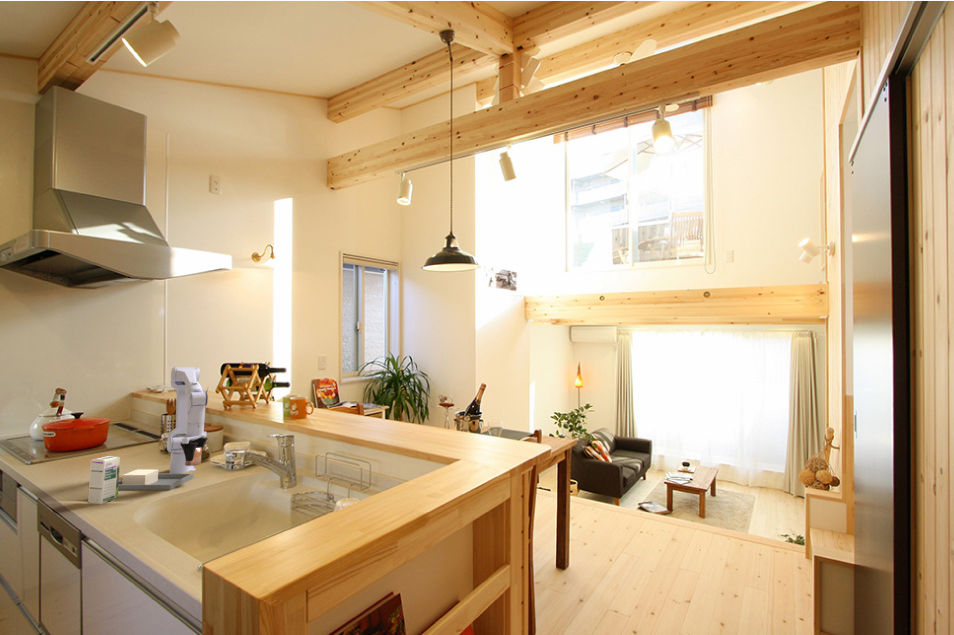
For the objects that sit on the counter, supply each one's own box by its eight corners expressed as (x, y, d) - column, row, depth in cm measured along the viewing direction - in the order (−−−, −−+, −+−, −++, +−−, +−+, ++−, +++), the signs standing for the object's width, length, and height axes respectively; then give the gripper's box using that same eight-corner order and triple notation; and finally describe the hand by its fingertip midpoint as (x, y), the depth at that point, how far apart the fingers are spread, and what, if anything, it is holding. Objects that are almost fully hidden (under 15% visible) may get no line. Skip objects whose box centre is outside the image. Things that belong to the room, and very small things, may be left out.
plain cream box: (135, 480, 180) (136, 469, 180) (157, 480, 181) (158, 469, 181) (121, 486, 172) (122, 475, 172) (144, 486, 173) (145, 475, 173)
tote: (137, 479, 184) (138, 473, 184) (193, 480, 185) (193, 473, 186) (109, 492, 168) (109, 485, 168) (170, 492, 170) (170, 485, 170)
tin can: (189, 462, 182) (190, 446, 182) (203, 462, 182) (204, 446, 182) (182, 465, 176) (183, 449, 177) (196, 465, 177) (197, 449, 177)
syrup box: (101, 504, 155) (105, 460, 156) (87, 503, 156) (90, 458, 157) (117, 499, 160) (121, 456, 161) (103, 497, 162) (107, 455, 163)
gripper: (197, 426, 173) (194, 463, 172) (215, 420, 188) (212, 454, 187) (177, 426, 173) (174, 463, 172) (196, 420, 187) (194, 454, 186)
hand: (193, 459), depth 179 cm, fingers closed on tin can, 5 cm apart
